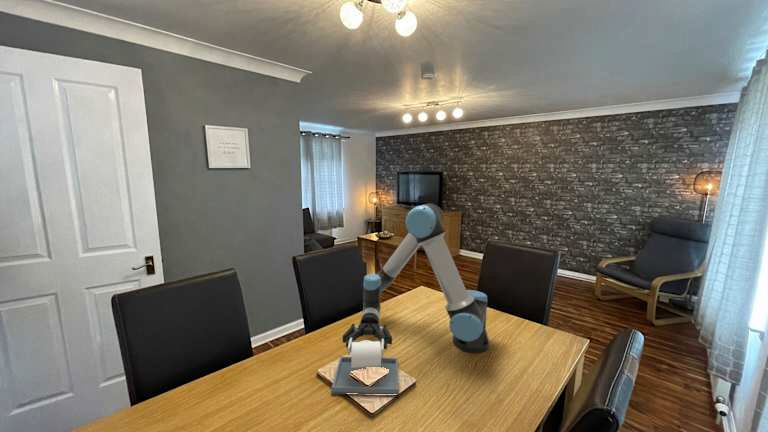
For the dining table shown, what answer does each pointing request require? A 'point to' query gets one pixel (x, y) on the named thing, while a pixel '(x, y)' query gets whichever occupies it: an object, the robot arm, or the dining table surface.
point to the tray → (349, 385)
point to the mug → (365, 354)
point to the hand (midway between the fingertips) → (365, 352)
